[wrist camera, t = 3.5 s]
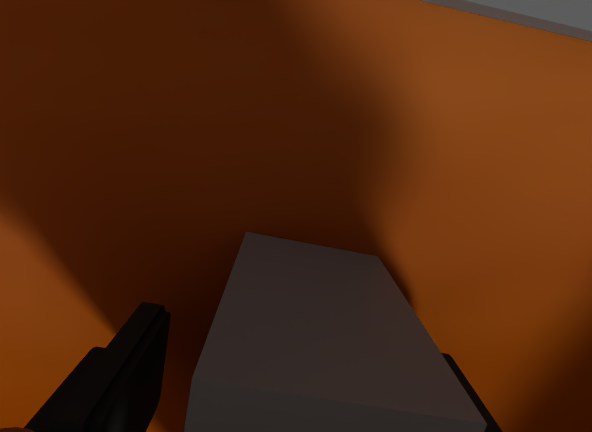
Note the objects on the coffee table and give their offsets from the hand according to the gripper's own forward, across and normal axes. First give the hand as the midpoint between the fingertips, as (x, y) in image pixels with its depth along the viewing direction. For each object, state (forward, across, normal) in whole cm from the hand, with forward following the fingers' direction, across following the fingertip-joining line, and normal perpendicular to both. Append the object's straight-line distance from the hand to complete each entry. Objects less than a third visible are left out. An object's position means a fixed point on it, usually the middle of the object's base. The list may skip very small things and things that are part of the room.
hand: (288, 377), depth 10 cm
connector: (+1, 0, +1) cm, 2 cm away
